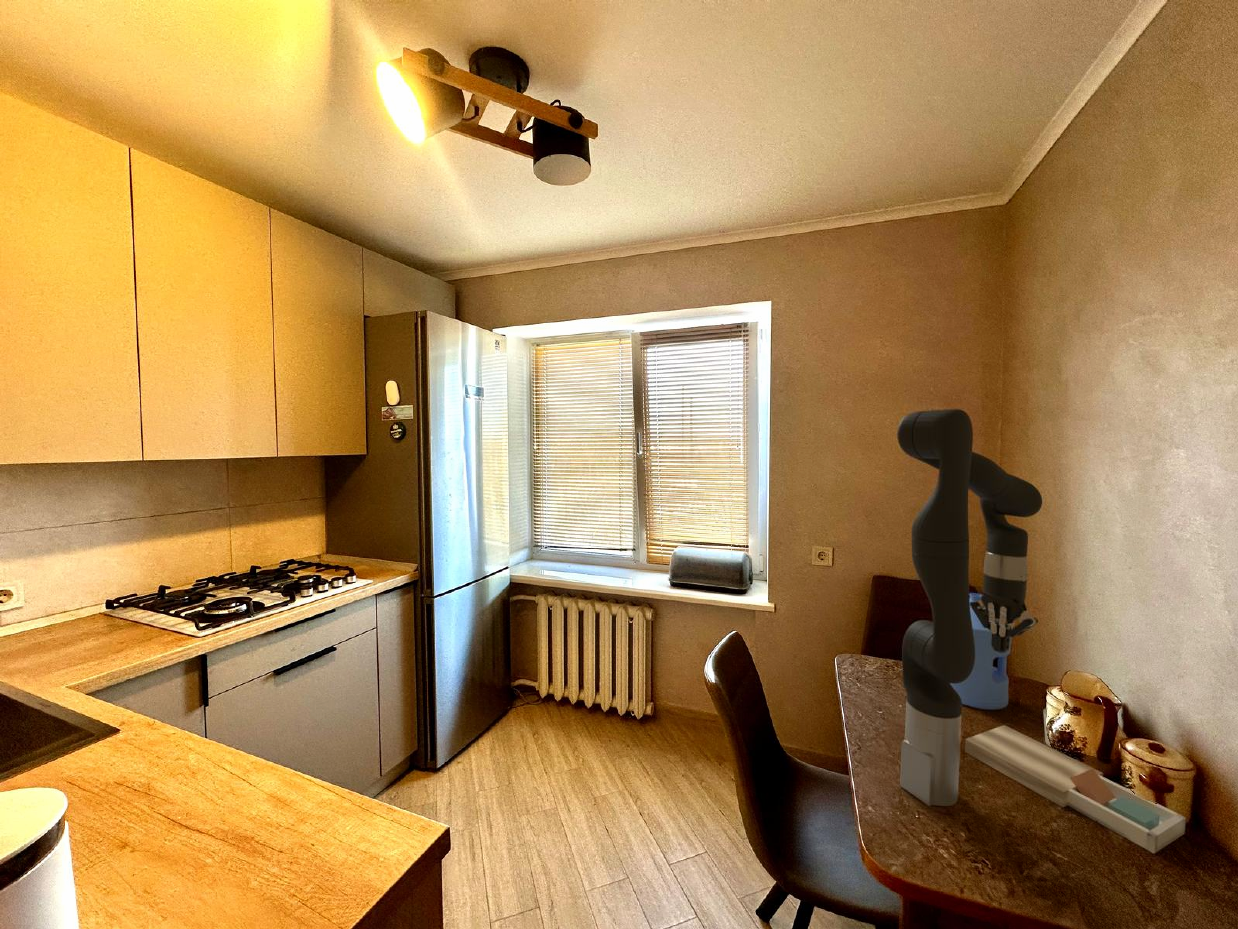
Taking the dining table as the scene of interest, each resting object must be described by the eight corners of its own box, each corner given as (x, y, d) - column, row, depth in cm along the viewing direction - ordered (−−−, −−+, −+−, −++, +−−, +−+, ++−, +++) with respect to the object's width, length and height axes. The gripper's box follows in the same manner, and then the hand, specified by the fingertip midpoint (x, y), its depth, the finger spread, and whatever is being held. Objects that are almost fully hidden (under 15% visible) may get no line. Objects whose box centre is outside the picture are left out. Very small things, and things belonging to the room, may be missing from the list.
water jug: (944, 703, 131) (949, 599, 130) (932, 677, 146) (936, 583, 144) (1017, 717, 125) (1023, 608, 123) (997, 688, 139) (1002, 590, 138)
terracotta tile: (1091, 807, 94) (1101, 805, 92) (1069, 777, 97) (1078, 774, 95) (1105, 800, 96) (1115, 797, 94) (1083, 771, 99) (1092, 768, 97)
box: (1154, 853, 84) (1155, 836, 84) (1067, 805, 95) (1068, 790, 95) (1184, 833, 88) (1185, 817, 88) (1098, 789, 99) (1099, 775, 99)
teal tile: (1108, 804, 92) (1107, 814, 92) (1145, 823, 87) (1144, 834, 87) (1123, 796, 94) (1122, 806, 94) (1159, 815, 89) (1159, 826, 89)
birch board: (1062, 807, 94) (1063, 792, 94) (964, 752, 111) (965, 739, 111) (1102, 787, 100) (1103, 773, 100) (1003, 737, 116) (1003, 725, 116)
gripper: (962, 567, 113) (958, 642, 114) (1028, 584, 101) (1023, 667, 102) (984, 565, 116) (979, 637, 117) (1050, 580, 104) (1045, 661, 105)
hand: (999, 651), depth 109 cm, fingers closed
